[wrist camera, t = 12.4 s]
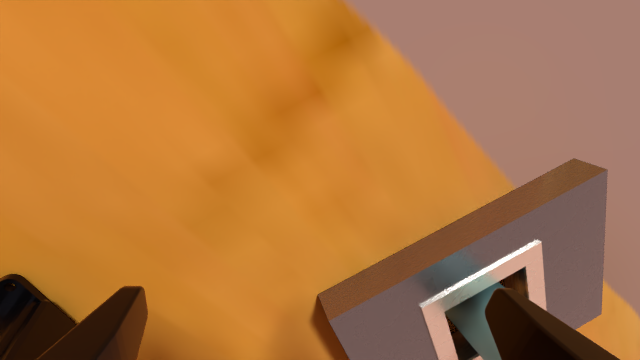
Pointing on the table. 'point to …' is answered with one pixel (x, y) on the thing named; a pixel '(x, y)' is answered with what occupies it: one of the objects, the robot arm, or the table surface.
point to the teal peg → (476, 322)
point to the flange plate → (481, 269)
